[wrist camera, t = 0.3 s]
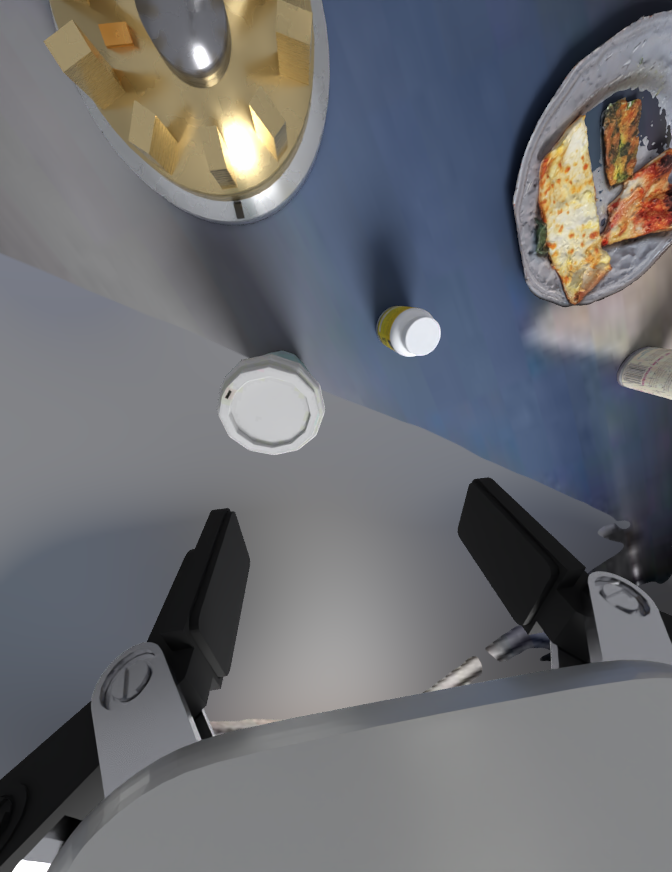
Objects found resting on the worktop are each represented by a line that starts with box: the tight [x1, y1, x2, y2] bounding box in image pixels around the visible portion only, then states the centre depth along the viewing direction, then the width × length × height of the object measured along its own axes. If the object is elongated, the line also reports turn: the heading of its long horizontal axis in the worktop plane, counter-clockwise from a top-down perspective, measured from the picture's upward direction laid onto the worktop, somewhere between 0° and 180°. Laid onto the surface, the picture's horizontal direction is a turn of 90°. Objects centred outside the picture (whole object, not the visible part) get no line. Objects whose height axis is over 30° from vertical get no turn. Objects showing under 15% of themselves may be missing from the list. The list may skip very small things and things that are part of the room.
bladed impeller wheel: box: [44, 0, 314, 202], centre depth 19 cm, size 19×19×6 cm
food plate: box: [513, 10, 672, 307], centre depth 31 cm, size 25×23×4 cm
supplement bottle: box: [377, 306, 441, 357], centre depth 32 cm, size 5×5×10 cm
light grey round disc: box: [49, 0, 330, 225], centre depth 23 cm, size 22×22×2 cm
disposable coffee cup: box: [217, 350, 325, 455], centre depth 31 cm, size 11×11×15 cm
